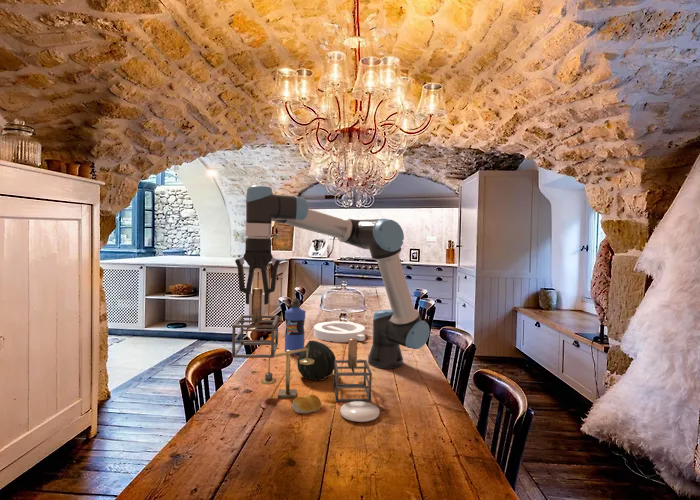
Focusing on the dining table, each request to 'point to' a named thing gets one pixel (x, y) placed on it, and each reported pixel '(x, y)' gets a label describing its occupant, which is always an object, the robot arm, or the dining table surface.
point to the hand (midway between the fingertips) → (257, 314)
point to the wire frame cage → (256, 319)
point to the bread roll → (306, 404)
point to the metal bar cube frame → (352, 373)
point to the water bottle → (294, 327)
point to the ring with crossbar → (339, 331)
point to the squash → (317, 361)
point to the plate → (359, 411)
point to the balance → (270, 380)
